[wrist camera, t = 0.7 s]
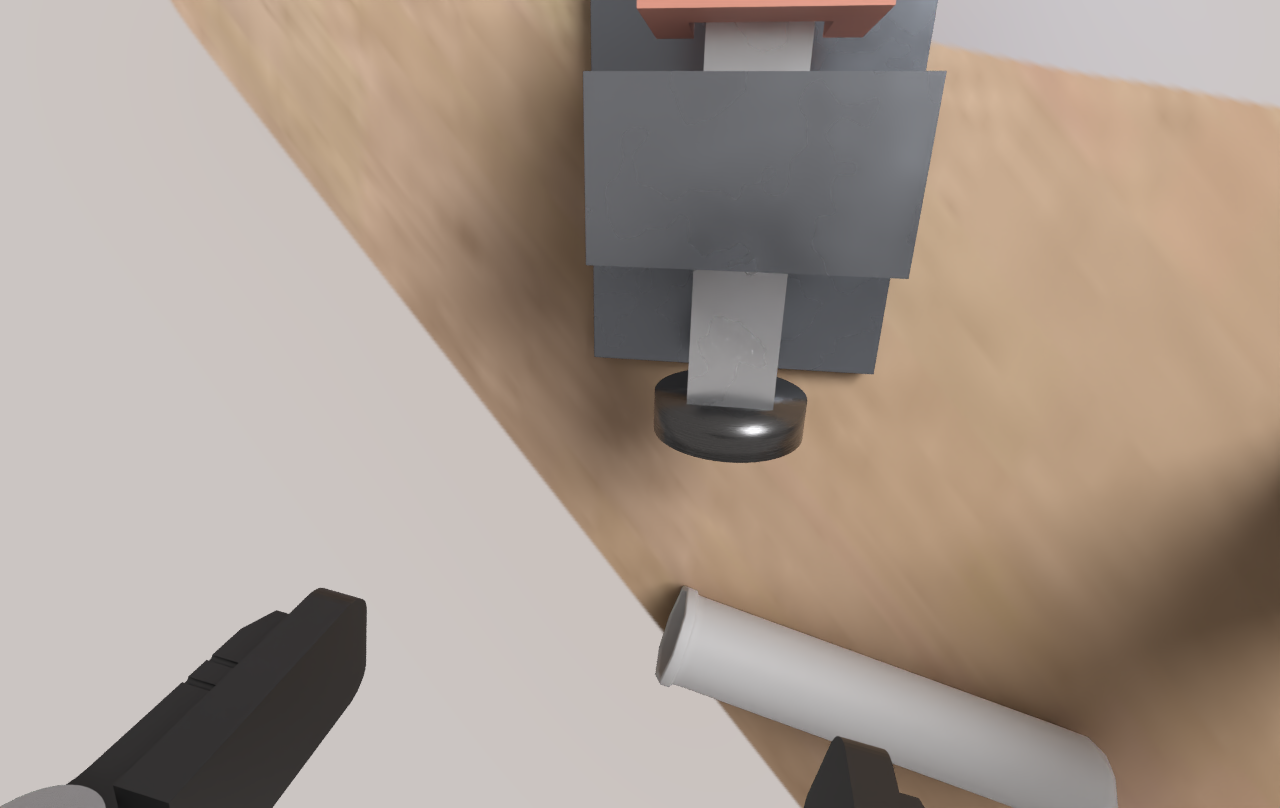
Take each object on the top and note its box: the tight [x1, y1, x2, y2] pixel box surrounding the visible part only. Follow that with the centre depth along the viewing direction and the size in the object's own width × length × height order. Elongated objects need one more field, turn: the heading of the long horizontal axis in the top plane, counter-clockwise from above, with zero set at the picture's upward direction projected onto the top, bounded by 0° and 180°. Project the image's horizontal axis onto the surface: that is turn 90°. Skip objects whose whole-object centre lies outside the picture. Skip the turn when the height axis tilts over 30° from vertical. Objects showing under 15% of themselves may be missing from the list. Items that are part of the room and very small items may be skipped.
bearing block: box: [583, 0, 947, 374], centre depth 21 cm, size 13×18×11 cm
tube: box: [655, 586, 1118, 808], centre depth 33 cm, size 5×5×25 cm
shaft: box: [654, 21, 815, 463], centre depth 20 cm, size 6×18×6 cm, turn 179°
